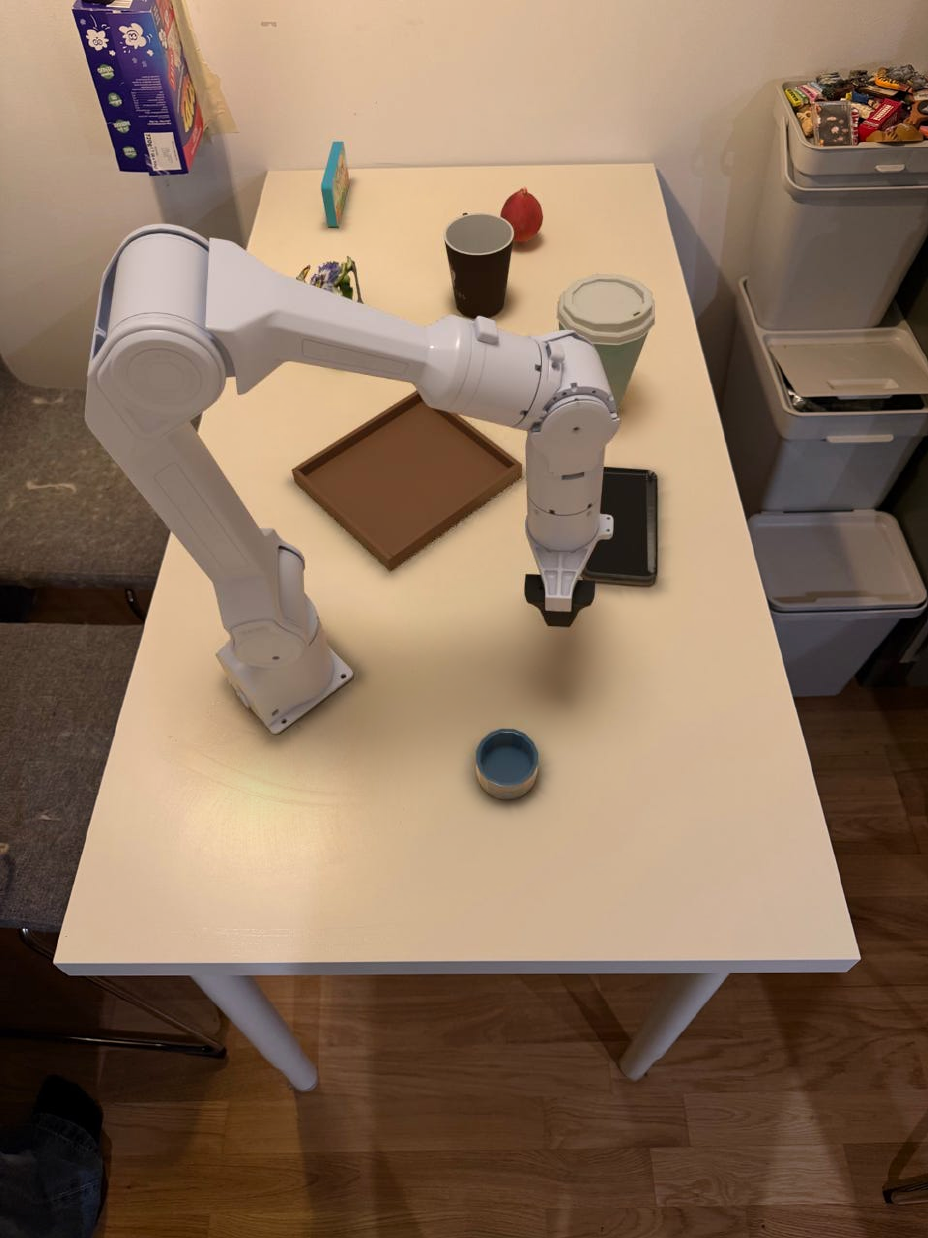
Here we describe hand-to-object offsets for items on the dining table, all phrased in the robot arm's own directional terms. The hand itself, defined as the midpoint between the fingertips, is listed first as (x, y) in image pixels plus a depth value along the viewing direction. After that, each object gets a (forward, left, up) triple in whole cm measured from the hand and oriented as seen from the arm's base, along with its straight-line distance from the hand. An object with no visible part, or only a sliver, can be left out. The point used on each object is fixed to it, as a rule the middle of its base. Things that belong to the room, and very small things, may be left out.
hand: (561, 587), depth 75 cm
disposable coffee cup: (+27, +20, -9) cm, 35 cm away
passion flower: (+13, +51, -9) cm, 54 cm away
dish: (-13, -7, -9) cm, 17 cm away
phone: (+15, +5, -9) cm, 18 cm away
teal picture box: (+30, +75, -9) cm, 81 cm away
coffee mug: (+31, +44, -9) cm, 55 cm away
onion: (+43, +49, -9) cm, 66 cm away
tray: (+3, +26, -9) cm, 28 cm away
